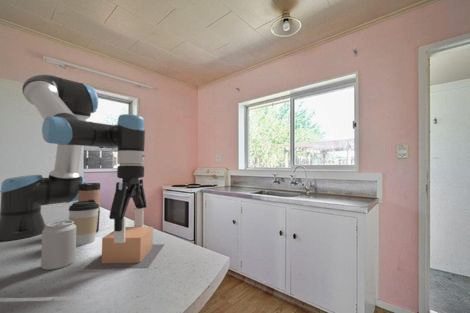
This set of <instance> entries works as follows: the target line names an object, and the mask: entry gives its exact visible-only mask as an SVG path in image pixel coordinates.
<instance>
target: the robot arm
mask: <svg viewBox="0 0 470 313" xmlns="http://www.w3.org/2000/svg"><path fill="white" fill-rule="evenodd" d="M21 89H22V94H23V97H24V98H25V99H26V101H27V102H28V103H30V104H31V105H33V106H34V107H35V109H37V111H38V113H39V114H40V116H41V117H42V119H43V121H42V128H41V134H42V139H43V140H44V142H46V143H48V144H52V145H53V144H55V145H57V147H56V154H55V161H54V162H55V163H54V169H53V170H50V172H49V173H48V177H43V175H42V174H31V175H20V176H15V177H14V176H12V177H8V178H5V179H4V180H3V181H2V182H1V186H0V241H1V242H2V241H3V242H4V241H6V242H7V241H15V240H22V239H26V238H30V237H35V236H39V235H42V231H43V230H44V229H45V228H46V223H45V221H44V218H43V215H42V211H41V210H42V206H47V205H56V204H69V203H74V202H78V193H79V184H80V185H81V184H84V183H87V182H86V179H85V177H84V176H82V175H83V174H82V173H81V172H80V171H79V168H80V162H81V156H82V149H83V148H82V146H83V147H99V148H105V149H116V148H117V161H116V162H117V164H118V166H117V168H116V170H117V171H116V177H117V179H122V182H121V181H120V182H119V181H118V182H116V183H115V192H114V195H113V199H112V200H113V201H112V205H111V207H110V208H111V209H110V212H109V215H108V216H109V217H108V218H109V219H110V220H113V224H114V225H113V231H114V243H124V242H125V227H126V225H127V224H126V217H125V216H126V215H125V214H126V212H127V209H128V207H129V203H130V201H131V200H130V199H131V198H132V202H133V204H134V206H135V208H134V219H133V220H134V222H133V224H134V225H133V227H144V210H145V209H146V208H147V200H146V195H145V189H144V181H143V180H144V179H143V178H144V177H145V166H144V164H145V158H146V157H147V155H146V154H145V139H146V138H145V136H146V128H145V127H146V126H145V118H144V117H142V116H140V115H137V114H131V113H125V114H120V115H119V116H118V119H117V124H107V123H100V122H93V121H87V119H90V118H91V114H94V113H96V112H97V110H98V107H99V97H98V93H97V92H96V89H95V88H94V87H93V86H91V85H88V84H85V83H83V82H78V81H74V80H71V79H66V78H63V77H58V76H55V75H52V74H38V75H34V76H31V77H29V78H27V79H26V80H25V81H24V82H23V84H22V88H21ZM141 178H142V179H141Z"/></svg>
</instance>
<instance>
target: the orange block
mask: <svg viewBox="0 0 470 313" xmlns="http://www.w3.org/2000/svg"><path fill="white" fill-rule="evenodd" d="M153 233H154V227H153V226H143V227H134V226H125V242H124V243H114V230H113V231H111V232H109V234H107V235H105V236H104V237H102V238H101V255H102V263H140V262H141V261H142V260H143V259H144V257H145V256H146V255H147V254H148V253H149V252H150V250H151V249H152V245H153V241H154V240H153V237H154V236H153V235H154V234H153Z"/></svg>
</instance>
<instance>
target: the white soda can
mask: <svg viewBox="0 0 470 313" xmlns="http://www.w3.org/2000/svg"><path fill="white" fill-rule="evenodd" d="M73 223H74V221H71V220H69V219H67V220H66V219H65V220H59V221H58V220H57V221H56V220H55V221H52V222H49V223H45V225H46V228H45V229H44V230H43V231H42V233H41V251H40V252H41V253H40V254H41V255H40V256H41V257H40V259H41V260H40V267H41V269H43V270H45V271H46V270H47V271H49V270H57V269H62V268H64V267H68V266H70V265H72V264H73V263H75V261H76V258H77V257H76V253H77V252H76V251H77V250H76V248H77V247H76V225H75V224H73Z"/></svg>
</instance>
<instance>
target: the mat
mask: <svg viewBox="0 0 470 313" xmlns="http://www.w3.org/2000/svg"><path fill="white" fill-rule="evenodd" d="M165 245H166V244H164V243H163V244H159V243H158V244H153V243H152V249H151V250H150V252H149V253H148V254H147V255H146V256H145V257H144V259H143V260H142V261H141V262H140V263H102V254H100V255H99V256H98V257H97V258H95V259H94V260H93V261H91V262H90V263H89V264H87V265H86V266H84V267H83V268H82V270H113V269H114V270H115V269H116V270H118V269H121V270H122V269H149V267H150V266H151V264H152V263H153V262H154V260H155V259H156V258H157V256H158V255H159V253H160V252H161V251H162V250H163V247H164V246H165Z"/></svg>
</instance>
